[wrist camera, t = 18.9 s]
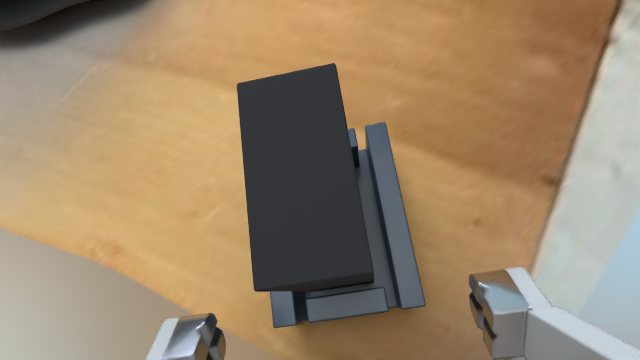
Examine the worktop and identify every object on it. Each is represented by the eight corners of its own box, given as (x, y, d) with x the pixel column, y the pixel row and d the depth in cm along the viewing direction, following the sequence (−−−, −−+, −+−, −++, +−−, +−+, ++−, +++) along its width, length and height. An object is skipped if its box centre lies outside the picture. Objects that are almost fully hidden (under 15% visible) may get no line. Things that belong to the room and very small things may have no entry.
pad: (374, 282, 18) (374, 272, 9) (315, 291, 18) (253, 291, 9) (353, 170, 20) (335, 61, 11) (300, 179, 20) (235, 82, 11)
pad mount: (415, 303, 19) (426, 306, 15) (293, 320, 19) (273, 328, 15) (383, 152, 21) (385, 121, 17) (277, 172, 22) (255, 146, 18)
